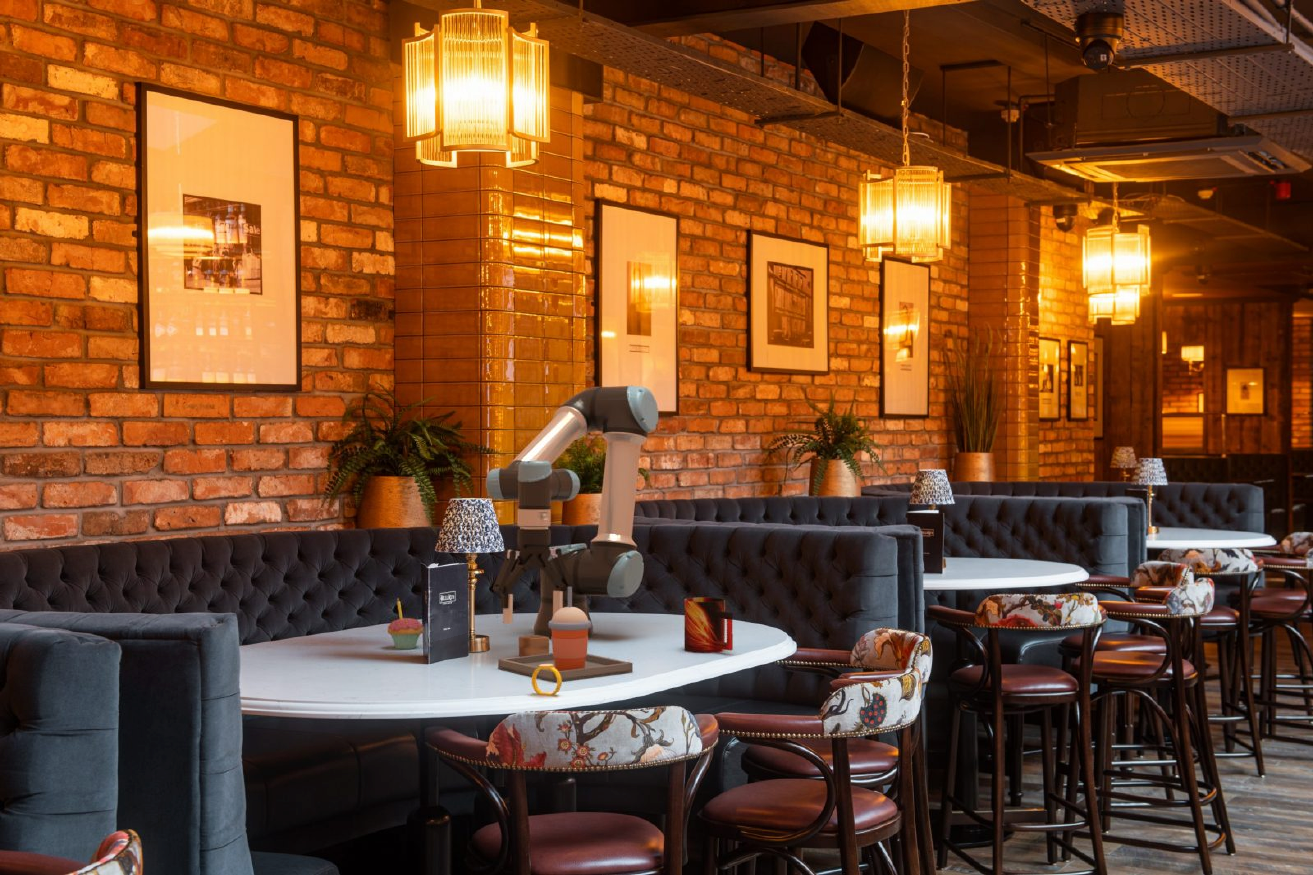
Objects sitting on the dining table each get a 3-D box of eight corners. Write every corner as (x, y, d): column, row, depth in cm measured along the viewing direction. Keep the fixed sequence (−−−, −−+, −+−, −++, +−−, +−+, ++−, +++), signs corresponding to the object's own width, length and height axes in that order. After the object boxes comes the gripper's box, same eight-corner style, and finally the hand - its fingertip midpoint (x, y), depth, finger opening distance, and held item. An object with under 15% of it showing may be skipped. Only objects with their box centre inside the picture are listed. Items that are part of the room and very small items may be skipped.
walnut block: (518, 658, 314) (518, 636, 314) (537, 656, 317) (537, 634, 317) (530, 661, 310) (530, 639, 310) (549, 659, 313) (549, 637, 313)
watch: (530, 696, 269) (528, 665, 269) (537, 694, 271) (535, 663, 272) (557, 696, 266) (555, 665, 267) (564, 694, 269) (562, 663, 269)
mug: (731, 655, 319) (731, 603, 319) (677, 651, 325) (677, 600, 325) (747, 650, 327) (747, 599, 327) (694, 646, 334) (695, 596, 334)
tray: (498, 668, 300) (498, 659, 300) (573, 659, 312) (573, 650, 312) (555, 682, 282) (555, 672, 282) (632, 672, 295) (632, 663, 295)
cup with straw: (554, 676, 286) (554, 589, 286) (543, 669, 295) (543, 585, 295) (596, 673, 289) (596, 588, 289) (584, 667, 298) (584, 584, 298)
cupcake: (398, 651, 324) (398, 600, 324) (380, 647, 331) (381, 597, 331) (430, 648, 330) (430, 598, 330) (412, 644, 336) (412, 594, 336)
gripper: (496, 529, 303) (495, 626, 303) (588, 527, 319) (587, 619, 318) (478, 528, 309) (477, 623, 309) (569, 526, 325) (568, 616, 324)
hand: (533, 621), depth 313 cm, fingers open, 13 cm apart
